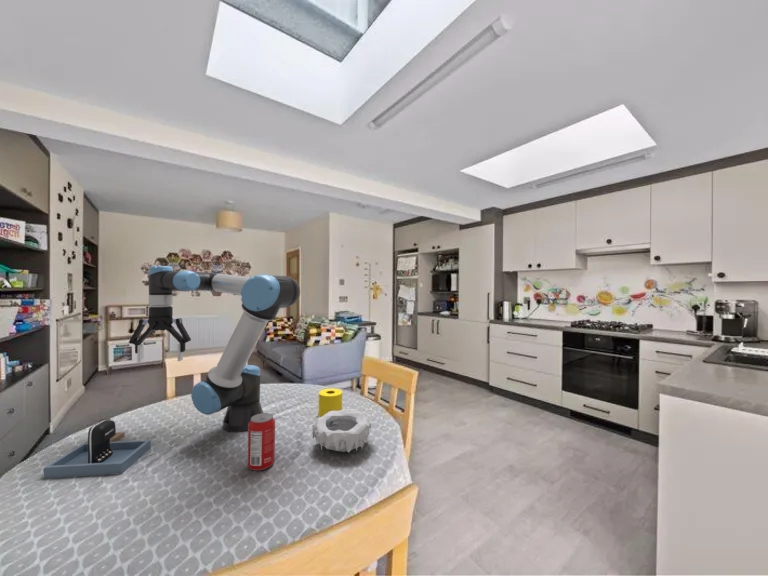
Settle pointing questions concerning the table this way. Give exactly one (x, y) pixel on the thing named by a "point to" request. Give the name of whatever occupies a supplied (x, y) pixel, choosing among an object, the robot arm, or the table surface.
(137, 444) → the parts tray
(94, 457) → the battery charger
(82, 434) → the table surface
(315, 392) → the table surface
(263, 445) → the soda can
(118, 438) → the wooden base with post
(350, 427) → the bowl
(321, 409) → the tape roll
